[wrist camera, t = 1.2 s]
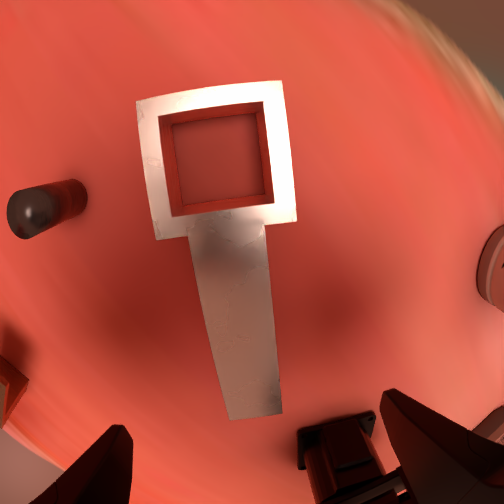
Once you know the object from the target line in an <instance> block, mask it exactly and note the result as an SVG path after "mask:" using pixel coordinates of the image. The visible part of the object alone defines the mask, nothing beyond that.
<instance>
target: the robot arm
mask: <svg viewBox="0 0 504 504" xmlns="http://www.w3.org/2000/svg"><path fill="white" fill-rule="evenodd" d="M380 413H381V416H382V419H383V422H384V425H385V428H386V431H387V434H388V437H389V440H390V442H391V445H392V447H393V450H394V452H395V454H396V456H397V458H398V460H399V462H400V464H401V466H399V467H397V468H396V470H394V471H392V472H390V473H388V474H386V472H385V469H384V467H383V465H382V463H381V461H380V459H379V456H378V454H377V452H376V450H375V448H374V446H373V444H372V442H371V439H370V438H371V435H372V431H373V428H374V424H375V420H376V415H375V413H374V412H368V413H365V414H362V415H358V416H355V417H351V418H347V419H344V420H340V421H336V422H332V423H327V424H323V425H319V426H314V427H310V428H305V429H301V430H299V431H298V432H297V466H298V469H299V470H306V469H307V472H308V476H309V480H310V484H311V488H312V492H313V495H314V499H315V503H316V504H504V445H502V444H499V443H497V442H494V441H492V440H489V439H487V438H484V437H482V436H480V435H478V434H476V433H474V432H472V431H470V430H467V428H465V427H463V426H461V425H459V424H457V423H455V422H453V421H452V420H450V419H448V418H446V417H444V416H443V415H441V414H439V413H437V412H435V411H434V410H432V409H430V408H428V407H426V406H425V405H423V404H421V403H419V402H418V401H416V400H414V399H412V398H411V397H409V396H407V395H405V394H404V393H402V392H400V391H399V390H397V389H394V388H392V389H389V390H386V391H384V392H383V394H382V398H381V402H380ZM132 465H133V439H132V437H131V436H130V434H129V433H128V431H127V429H126V428H125V426H123V425H116V424H114V425H112V426H111V427H110V428H109V429H108V430H107V431H106V432H105V433H104V434H103V435H102V436H101V437H100V438H99V439H98V440H97V441H96V442H95V443H94V444H93V445H92V446H91V447H90V448H88V449H87V450H86V451H85V452H84V453H83V454H82V455H81V456H80V457H79V458H78V459H77V460H76V461H75V462H74V463H73V464H72V465H71V466H70V467H69V468H68V469H67V470H66V471H65V472H64V473H63V474H62V475H61V476H60V477H59V478H58V479H57V480H56V482H54V483H53V484H52V485H51V486H49V487H48V488H47V489H46V490H45V491H44V492H43V493H42V494H40V495H39V496H38V497H37V498H35V499H34V500H33V501H32V502H30V503H29V504H129V498H130V490H131V483H132ZM404 489H406V492H404V493H402V494H401V495H399V496H397V493H399V492H401V491H403V490H404Z"/></svg>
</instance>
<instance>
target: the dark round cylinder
mask: <svg viewBox="0 0 504 504" xmlns="http://www.w3.org/2000/svg"><path fill="white" fill-rule="evenodd" d="M86 204H87V193H86V189H85V187H84V186H83V184H82V183H81V182H79V181H78V180H75V179H69V180H64V181H59V182H54V183H49V184H44V185H40V186H36V187H31V188H27V189H23V190H19V191H16V192H15V193H14V194H13V195H12V196H11V197H10V199H9V202H8V205H7V220H8V223H9V226H10V228H11V230H12V231H13V233H14V234H15V235H16V236H17V237H19V238H21V239H29V238H32V237H33V236H35V235H37V234H39V233H41V232H43V231H46V230H48V229H50V228H52V227H54V226H56V225H58V224H60V223H62V222H64V221H66V220H69V219H71V218H73V217H75V216H77V215H79V214H81V213H82V212H83V210H84V209H85V207H86Z"/></svg>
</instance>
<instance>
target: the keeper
mask: <svg viewBox="0 0 504 504" xmlns="http://www.w3.org/2000/svg"><path fill="white" fill-rule="evenodd" d="M28 381H29V379H27V378H26V377H25V376H24V375H22V374H21V373H20V372H19V371H17V370H16V369H15V368H14V367H13V366H11V365H10V364H9V363H8V362H7V361H6V360H5V359H3V358H2V357H1V356H0V428H1V429H2V428H3V426H4V424H5V423H6V421H7V419H8V418H9V416H10V415H11V413H12V411H13V410H14V408H15V407H16V405H17V403H18V402H19V400H20V399H21V397H22V396H23V394H24V393H25V391H26V389H27V385H28Z"/></svg>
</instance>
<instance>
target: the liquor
mask: <svg viewBox="0 0 504 504" xmlns="http://www.w3.org/2000/svg"><path fill="white" fill-rule="evenodd" d="M472 432H474V433H476V434H478V435H480V436H482V437H484V438H487V439H489V440H492V441H494V442H497V443H499V444H502V445H504V407H500V408H499V409H497V410H495V411H493V412H492V413H491V414H490V415H489V416H488V417H487V418H486V419H485V420H484V421H483V422H482V423H480V424H479V425H478V426H477V427H476V428H475V429H474V430H473V431H472Z"/></svg>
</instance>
